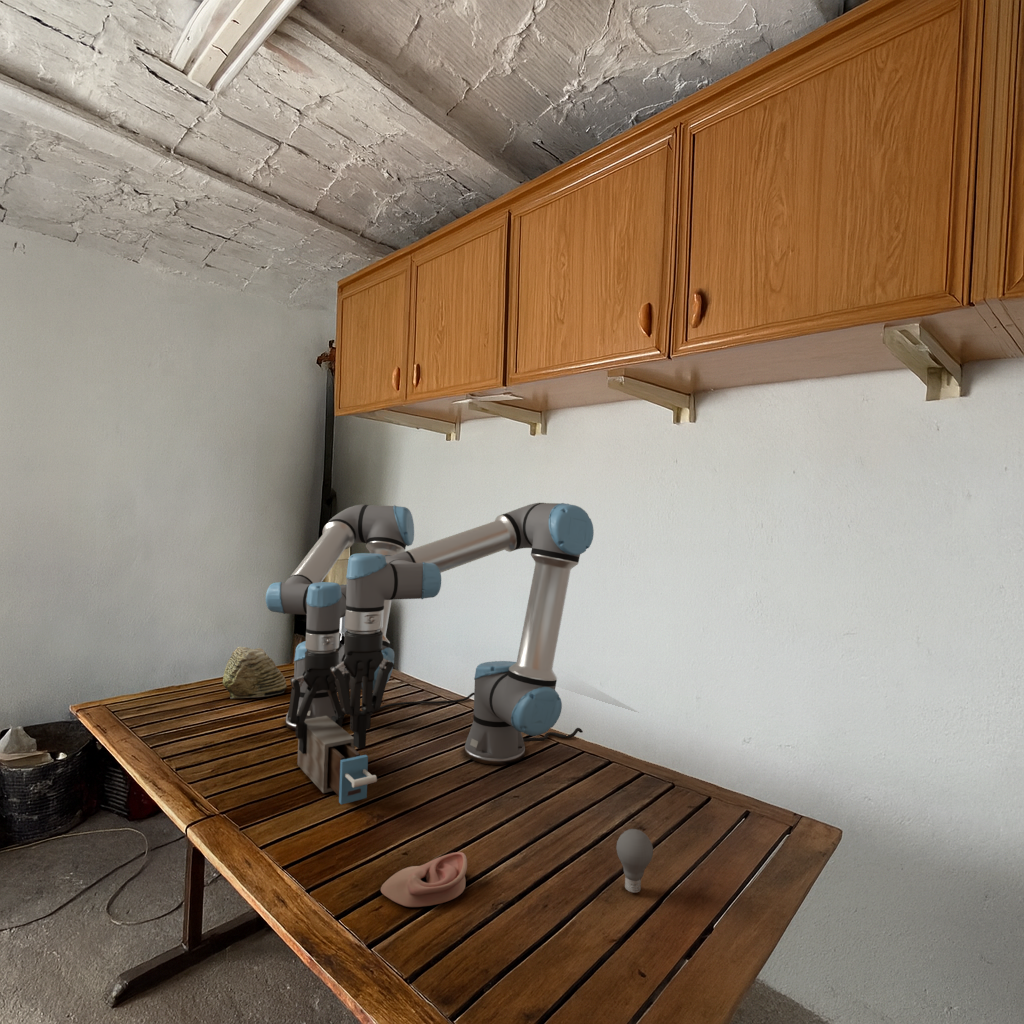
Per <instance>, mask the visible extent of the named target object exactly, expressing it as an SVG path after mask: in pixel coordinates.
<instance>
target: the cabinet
mask: <svg viewBox="0 0 1024 1024" xmlns="http://www.w3.org/2000/svg"><path fill="white" fill-rule="evenodd" d="M304 722H305V723H306V724H307V743H306V753H304V754H303V753H302V752H301V751H300V750H299V739H298V738H297V764H296V765H297V766H298V767H299V768H300V769H301V770H302V772H303V773H304V774H305V775H306V777H308V778H309V780H310V781H311V782H312V783H313V784H314V785H315V786H316V787H317V789H319V791H320V792H321V793H322V794H327V793H330V792H334V790H333V789H332V788H331V787H330V786H329V785H328V784H327V774H328V747H333V746H338V745H343V744H349V745H350V746H351V747H352V748H353V749H354V750H356V748H355V747H356V746H355V745H353V740H354V736H353V735H351V734H350V733H348V731H346V730H345V729H344V728H343V727H342V728H341V727H340V726H339V725H338V724H336V723H335V722H334V721H333V720H332V719H330V718H329V717H328V716H322V717H316V718H310V719H305V721H304Z"/></svg>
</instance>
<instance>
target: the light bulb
mask: <svg viewBox="0 0 1024 1024" xmlns="http://www.w3.org/2000/svg"><path fill="white" fill-rule="evenodd" d="M615 849H616V854H617V857H618V859H619V861H620V863H621V865H622V867H623V873H624V874H623V875H624V876H625V878H624V888H625V890H627V891H628V892H630V893H634V894H635V893H639V892H640V891H641V889H642V887H641V886H642V879H643V877H644V875H645V871H646V868H647V867H648V866H649V864H650V863H651V861H652V859H653V855H654V847H653V843H652V841H651V838H649V836H648V835H647V834H646V833H645V832H643V831H642V830H641V829H636V828H629V829H627V830H625V831H623V832H622V833H621V834H620V835H619V837H618V839H617V841H616V847H615Z"/></svg>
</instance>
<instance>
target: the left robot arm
mask: <svg viewBox="0 0 1024 1024" xmlns="http://www.w3.org/2000/svg"><path fill="white" fill-rule="evenodd" d="M414 540H415V524H414V518H413V514H412V512H411V510H410V509H409V508H408V507H406V506H400V505H399V506H397V505H395V504H394V505H381V504H380V505H379V504H377V505H376V504H361V503H360V504H355V505H352V506H349V507H346V508H345V509H343V510H341V511H340V512H338V513H337V514H335V515H334V516H332V518H330V519H329V520H328V521H327V523H326V524H325V525H324V526H323V528H322V534H321V536H320V537H319V538H318V539H317V541H316V542H315V544H314V545H313V546H312V547H311V549H310V550H309V551H308V553H307V554H306V555H305V556H304V558H303V559H302V560H301V561H300V563H299V564H298V566H297V567H296V568H295V569H294V570H293V572H292V573H291V574H290V576H289V577H288V578H287V579H286V581H284V582H283V581H280V582H278V581H277V582H273V583H271V584H270V585H269V586H268V587H267V590H266V592H265V604H266V607H267V609H268V610H269V612H271V613H278V614H279V613H280V614H286V615H287V614H288V615H306V628H305V640H304V641H302V642H299V643H298V644H297V645H296V647H295V652H294V653H295V654H294V659H293V661H294V672H293V677H291V678H290V679H289V680H290V681H289V682H290V686H291V691H290V699H289V705H288V711H287V713H286V715H285V726H286V728H287V729H289V730H291V731H294V732H295V737H296V739H297V740H298V739H299V750H300V751H301V752H302V753H303V754H304V753H306V743H307V724H306V723H305V722H304V721H305V719H310V718H316V717H322V716H328V717H329V718H330V719H332V720H333V721H334V722H335V723H336V724H338V725H339V726H340V727H341V728H343V723H344V719H345V716H347V714H345V713H344V712H343V711H342V710H341V706H340V701H339V696H338V691H337V687H336V682H335V677H334V676H333V674H332V673H331V671H330V668H331V667H332V666H335V667H336V666H337V665H338V664H339V663H341V662H342V657H343V655H344V644H341V641H340V632H341V619H343V618H344V617H345V614H346V588H347V584H339V583H337V582H331V581H324V580H325V578H326V577H327V576H328V575H329V572H330V571H331V570H332V569H333V567H334V565H335V564H336V563H337V561H338V560H339V559H340V557H341V556H342V554H343V553H344V551H345V550H348V549H350V548H351V547H352V546H353V545H354V544H365V549H367V550H368V551H369V552H368V553H375V554H382V555H390V556H393V555H396V554H399V553H402V552H405V551H406V548H407V547H410V546H412V545H413V544H414V543H413V542H414ZM391 606H392V600H384V613H383V628H382V629H380V630H381V631H382V632H383V640H382V654H383V656H384V659H386V660H389V661H390V662H392V663H393V664H394V665H395V651H394V649H392V648H391V647H390V645H391V641H390V640H389V639H388V638H387V629H388V624H389V617H390V613H391ZM379 669H380V667H378V668H377V670H376V671H375V673H374V681H373V690H374V686H375V682H376V679H377V675H378V671H379ZM344 671H345V674H344V675H343V676H344V678H345V681H346V686H347V691H348V696H349V701H350V688H351V680H350V673H349V672H348V671H347V669H346V668H345V669H344ZM393 671H394V667H393V668H392V669H391V671H390V673H389V675H388V679H387V683H386V685H387V684H388V683H389V681H390V678H391V677H392V676H391V675H392V673H393ZM362 686H363V678H362V682H361V691H362ZM471 697H474V692H471V693H470V694H468V696H466V697H464V698H459V699H452V700H451V699H450V700H432V701H428V700H417V701H416V700H415V701H402V702H401V701H400V702H394V703H389V704H388V703H387V704H385V705H381V706H380V709H378V710H374V711H373V713H375V712H378V711H381V710H383V709H386V708H390V707H395V706H405V705H429V704H430V705H440V704H453V703H455V704H456V703H462V702H465V701H468V700H469V699H470V698H471ZM360 712H363V711H362V710H360Z"/></svg>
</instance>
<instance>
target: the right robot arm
mask: <svg viewBox="0 0 1024 1024" xmlns="http://www.w3.org/2000/svg"><path fill="white" fill-rule="evenodd" d="M594 532H595V530H594V524H593V521H592V518H590V516H589V513H587V511H586V510H584V509H583V508H582V507H580V506H578V505H576V504H570V503H564V502H562V503H555V502H553V503H552V502H534V503H529V504H527V505H525V506H524V505H523V506H522V507H519V508H516V509H514V510H511V511H508V512H505V513H503V514H499V515H497V516H496V518H495V519H494V521H491V522H488V523H485V524H482V525H479V526H475V527H474V528H470V529H468V530H465V531H461V532H458V533H456V534H453V535H449V536H447V537H446V536H445V537H444V538H440V539H438V540H434V541H431V542H429V543H426V544H422V545H419V546H418V547H414V548H410V549H408V550H405V552H402V553H399V554H396V555H393V556H390V555H382V554H375V553H370V552H360V553H359V552H358V553H353V554H351V555H350V556H349V557H348V561H347V567H346V569H347V570H346V575H345V579H346V585H347V588H346V614H345V616H344V617H345V618H344V628H345V632H344V641H343V642H344V643H343V645H344V655H343V657H342V662H341V663H339V664H338V665H337V666H336V667H335V666H332V667H331V668H330V671H331V673H332V674H333V676H334V677H335V682H336V687H337V695H338V699H339V702H340V706H341V710H342V711H343V712H344V713H345V714H346V716H350V717H349V729H350V731H351V732H352V733H353V737H354V740H353V745H355V747H356V749H358V750H360V749H366V746H367V745H366V743H367V730H370V728H371V721H372V720H371V719H372V717H371V716H372V715H374V712H373V711H374V710H378V709H380V707H381V706H382V702H383V699H384V693H385V690H386V686H387V684H388V682H387V679H388V675H389V673H390V671H391V669H392V668H393V669H394V666H395V663H394V664H393V663H392V662H390V661H389V660H386V659H384V656H383V654H382V640H383V632H382V631H381V630H380V629H382V628H383V613H384V600H393V601H394V600H419V599H420V600H425V599H431V598H435V597H437V596H438V595H439V593H440V591H441V588H442V573H444V572H446V571H450V570H453V569H455V568H458V567H460V566H463V565H466V564H469V563H471V562H475V561H478V560H480V559H483V558H485V557H489V556H491V555H495V554H497V553H499V552H503V551H506V552H508V553H511V552H514V551H517V550H521V549H531V551H530V557H532V560H533V561H534V563H535V565H534V569H533V573H532V580H531V585H530V589H529V596H528V600H527V605H526V611H525V617H524V621H523V627H522V632H521V637H520V642H519V647H518V652H517V658H516V661H511V660H494V661H485V662H482V663H479V664H478V665H477V666H476V668H475V673H474V677H473V680H474V688H473V689H474V690H473V691H474V692H473V693H474V695H473V719H472V724H471V726H470V730H469V732H468V735H467V737H466V740H465V743H464V754H465V756H466V757H467V758H468V759H469V760H471V761H474V762H477V763H479V764H485V765H490V766H491V765H493V766H500V765H501V766H503V765H510V764H514V763H517V762H519V761H521V760H522V759H523V758H525V755H526V745H525V743H529V742H544V741H546V740H547V739H548V738H549V737H551V736H552V737H557V738H560V739H573V738H574V737H575V736H576V735H577V734H578V733H579V734H580V733H583V730H582V729H581V728H580V727H576V728H575V729H574V730H573V732H571V733H570V734H563V733H559V732H553V731H549V730H550V729H552V728H553V727H554V726H555V725H556V723H557V722H558V720H559V718H560V716H561V714H562V709H563V708H562V707H563V702H562V699H561V697H560V694H559V693H558V691H556V686H557V681H558V676H557V675H556V673H555V672H554V670H553V668H554V663H555V662H554V661H555V658H556V657H555V656H556V651H557V646H558V641H559V635H560V629H561V623H562V619H563V614H564V609H565V603H566V598H567V592H568V587H569V581H570V575H571V571H572V569H573V568H575V567H576V566H578V565H579V561H580V557H581V555H582V554H583V553H585V552H586V551H587V549H589V548H590V547H591V545H592V543H593V541H594V535H595V534H594ZM378 667H380V669H379V671H378V675H377V679H376V682H375V686H374V690H373V681H374V673H375V671H376V670H377V668H378ZM345 668H346V669H347V671H348V672H349V673H350V680H351V688H350V689H349V690H350V701H349V696H348V691H347V686H346V681H345V678H344V676H343V675H344V674H345V671H344V669H345ZM362 678H363V686H362V690H361V682H362ZM386 683H387V684H386ZM360 711H363V712H360ZM378 711H379V710H378ZM522 733H523V734H525V735H527V736H532V737H525V738H523V734H522ZM543 734H544V736H542V737H535V736H541V735H543ZM566 735H568V736H566Z"/></svg>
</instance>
